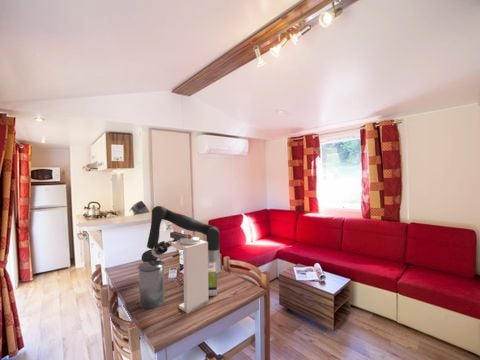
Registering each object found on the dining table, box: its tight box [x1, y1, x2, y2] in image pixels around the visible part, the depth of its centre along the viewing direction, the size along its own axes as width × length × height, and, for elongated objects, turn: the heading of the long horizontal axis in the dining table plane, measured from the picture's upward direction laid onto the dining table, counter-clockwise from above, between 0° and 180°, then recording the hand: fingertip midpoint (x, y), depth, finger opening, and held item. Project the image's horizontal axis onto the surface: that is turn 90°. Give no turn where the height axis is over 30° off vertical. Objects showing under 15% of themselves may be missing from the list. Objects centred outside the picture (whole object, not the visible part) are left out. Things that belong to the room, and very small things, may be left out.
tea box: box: [208, 262, 218, 297], centre depth 141 cm, size 15×10×15 cm, turn 5°
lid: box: [169, 231, 201, 245], centre depth 130 cm, size 24×11×4 cm, turn 47°
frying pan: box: [143, 253, 180, 263], centre depth 188 cm, size 32×13×6 cm, turn 128°
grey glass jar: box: [137, 261, 165, 310], centre depth 127 cm, size 14×14×21 cm
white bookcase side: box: [171, 239, 210, 314], centre depth 126 cm, size 15×14×34 cm
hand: (170, 241), depth 139 cm, fingers open, 8 cm apart
